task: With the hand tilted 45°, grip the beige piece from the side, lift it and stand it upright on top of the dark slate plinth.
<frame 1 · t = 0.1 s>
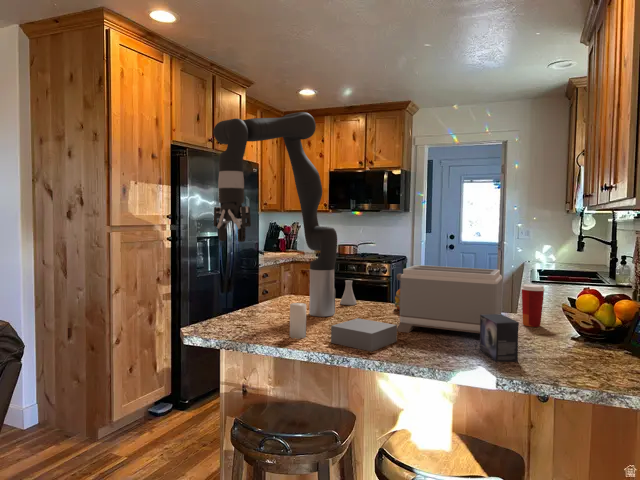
hand: (231, 241, 142), 29 cm above the countertop, tool pointing down, fingers open, 8 cm apart
plinth: (364, 342, 140), on the countertop
flask: (348, 304, 202), on the countertop
small box: (497, 356, 128), on the countertop
paper cup: (531, 325, 166), on the countertop
toaster: (445, 331, 157), on the countertop
beige piece: (297, 336, 145), on the countertop
burger: (411, 311, 189), on the countertop
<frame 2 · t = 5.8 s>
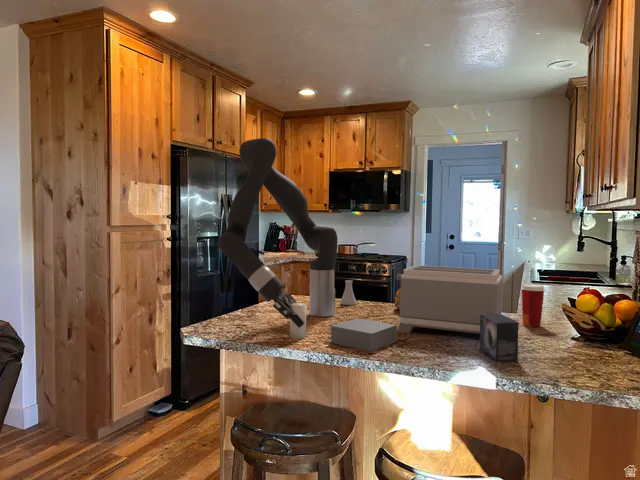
hand: (303, 323, 145), 4 cm above the countertop, tool tilted 45°, fingers closed on beige piece, 5 cm apart
beige piece: (297, 336, 145), on the countertop, touching gripper
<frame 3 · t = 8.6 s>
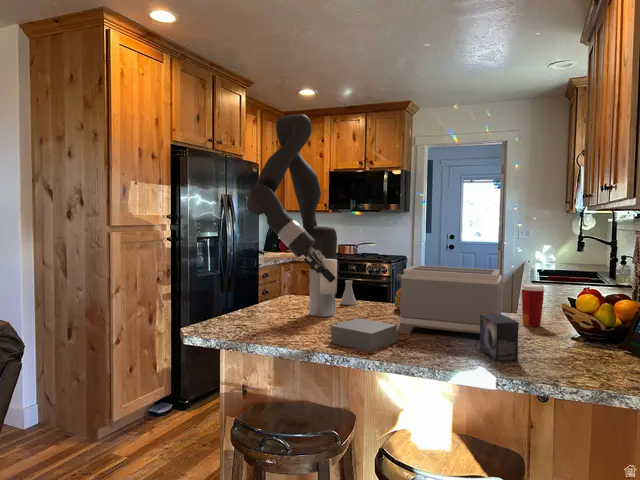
hand: (334, 279, 142), 18 cm above the countertop, tool tilted 45°, fingers closed on beige piece, 5 cm apart
beige piece: (328, 292, 142), point 14 cm above the countertop, touching gripper
when the fingers open (11 cm above the countertop, at t = 11.5 s): beige piece drops 1 cm, resting on plinth.
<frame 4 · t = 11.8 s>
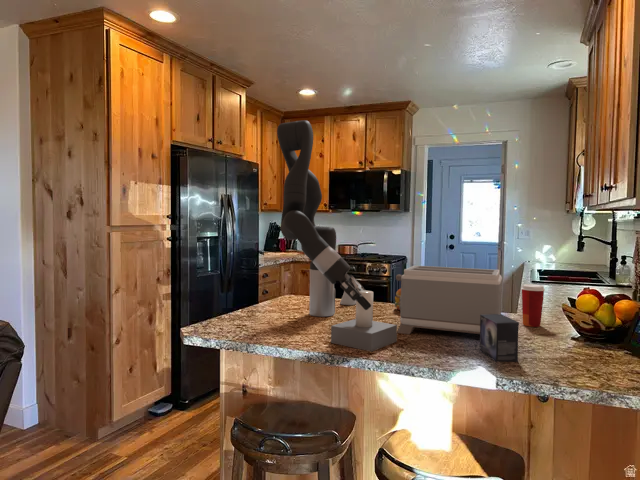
hand: (369, 305, 139), 11 cm above the countertop, tool tilted 45°, fingers open, 7 cm apart
beige piece: (363, 325, 140), point 5 cm above the countertop, touching plinth
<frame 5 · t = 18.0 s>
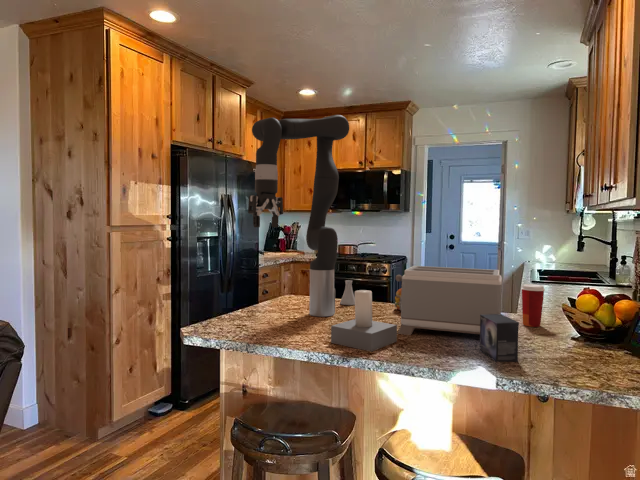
hand: (266, 227, 160), 33 cm above the countertop, tool pointing down, fingers open, 8 cm apart
at the end: beige piece inside the target area on the plinth (0.2 cm from its centre), point 5.1 cm above the plinth's base; beige piece tilted 2°; the gripper is holding nothing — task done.
